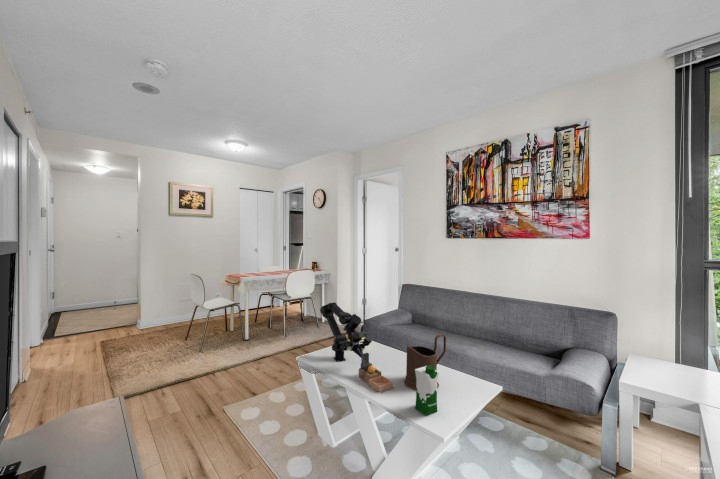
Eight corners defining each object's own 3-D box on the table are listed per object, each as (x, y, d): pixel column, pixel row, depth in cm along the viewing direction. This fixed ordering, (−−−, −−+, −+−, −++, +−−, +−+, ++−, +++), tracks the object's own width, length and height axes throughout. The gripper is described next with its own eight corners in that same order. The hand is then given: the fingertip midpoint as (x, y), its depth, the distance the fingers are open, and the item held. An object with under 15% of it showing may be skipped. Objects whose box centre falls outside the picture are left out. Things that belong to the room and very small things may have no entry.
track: (358, 377, 173) (358, 368, 173) (370, 374, 178) (370, 365, 178) (369, 384, 165) (369, 375, 165) (381, 381, 170) (381, 371, 170)
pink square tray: (368, 385, 165) (368, 379, 165) (382, 380, 170) (382, 375, 170) (379, 392, 157) (379, 386, 157) (393, 387, 162) (393, 382, 162)
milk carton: (426, 417, 135) (426, 371, 135) (411, 408, 143) (412, 364, 143) (440, 412, 140) (441, 367, 140) (426, 402, 148) (426, 360, 148)
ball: (366, 372, 171) (366, 364, 171) (373, 371, 173) (373, 363, 173) (369, 375, 168) (369, 367, 168) (376, 374, 169) (376, 366, 169)
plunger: (360, 368, 175) (360, 354, 175) (367, 367, 177) (368, 352, 177) (364, 371, 171) (364, 356, 171) (372, 369, 174) (372, 354, 174)
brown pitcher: (397, 378, 173) (398, 333, 173) (435, 372, 182) (435, 329, 182) (414, 394, 156) (415, 343, 156) (455, 386, 164) (455, 339, 164)
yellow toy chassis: (346, 344, 228) (346, 332, 228) (353, 343, 231) (353, 331, 231) (358, 351, 214) (358, 339, 214) (365, 349, 217) (365, 337, 217)
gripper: (343, 328, 177) (353, 353, 168) (370, 323, 187) (381, 347, 178) (336, 338, 184) (346, 363, 174) (362, 333, 194) (373, 357, 185)
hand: (362, 357), depth 178 cm, fingers closed
